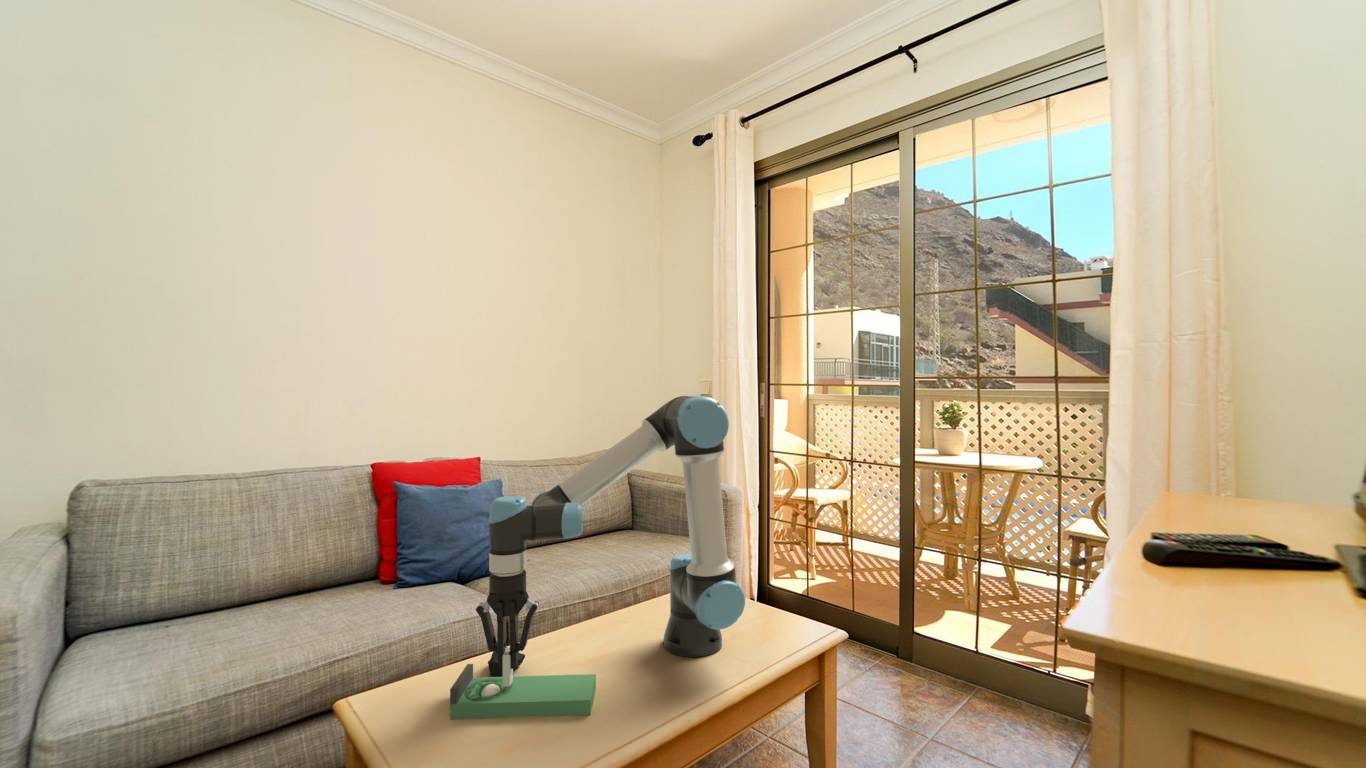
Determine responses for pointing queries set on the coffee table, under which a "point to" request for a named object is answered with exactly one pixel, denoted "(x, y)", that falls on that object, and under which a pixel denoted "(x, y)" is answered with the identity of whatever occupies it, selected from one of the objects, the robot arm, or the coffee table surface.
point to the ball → (490, 690)
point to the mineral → (494, 664)
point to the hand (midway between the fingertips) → (507, 683)
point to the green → (522, 696)
